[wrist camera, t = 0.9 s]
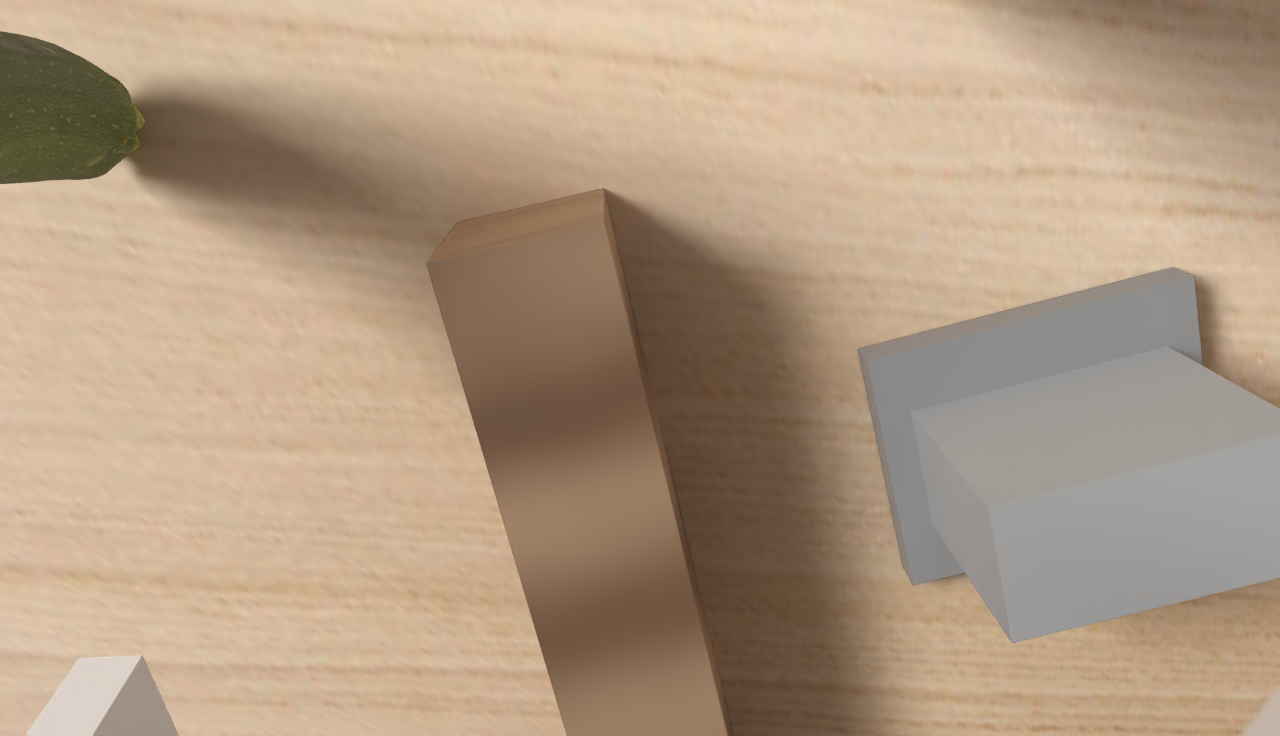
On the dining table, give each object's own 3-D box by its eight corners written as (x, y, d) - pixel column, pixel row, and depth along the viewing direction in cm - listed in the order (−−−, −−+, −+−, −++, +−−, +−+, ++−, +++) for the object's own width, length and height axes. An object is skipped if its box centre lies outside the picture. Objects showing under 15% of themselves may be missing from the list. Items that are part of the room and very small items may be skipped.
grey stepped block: (1196, 494, 35) (1363, 624, 27) (903, 567, 35) (985, 715, 28) (1173, 266, 32) (1348, 339, 25) (857, 348, 33) (934, 444, 25)
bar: (743, 777, 38) (769, 910, 32) (623, 803, 38) (627, 938, 32) (603, 187, 31) (603, 221, 25) (458, 220, 31) (426, 263, 26)
